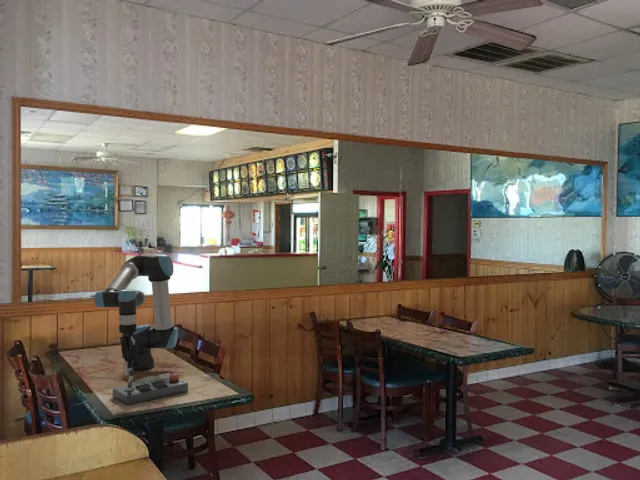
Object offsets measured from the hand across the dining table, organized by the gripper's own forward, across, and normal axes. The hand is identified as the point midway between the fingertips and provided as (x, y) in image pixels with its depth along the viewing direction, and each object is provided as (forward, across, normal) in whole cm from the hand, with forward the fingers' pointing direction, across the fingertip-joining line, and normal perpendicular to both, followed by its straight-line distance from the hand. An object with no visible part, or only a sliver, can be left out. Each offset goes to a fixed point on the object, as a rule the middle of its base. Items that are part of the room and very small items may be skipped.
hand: (128, 374), depth 256 cm
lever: (+6, +1, 0) cm, 6 cm away
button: (+7, +1, +22) cm, 23 cm away
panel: (+11, +1, +10) cm, 15 cm away
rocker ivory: (+4, +1, +15) cm, 16 cm away
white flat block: (+4, +1, +7) cm, 8 cm away
